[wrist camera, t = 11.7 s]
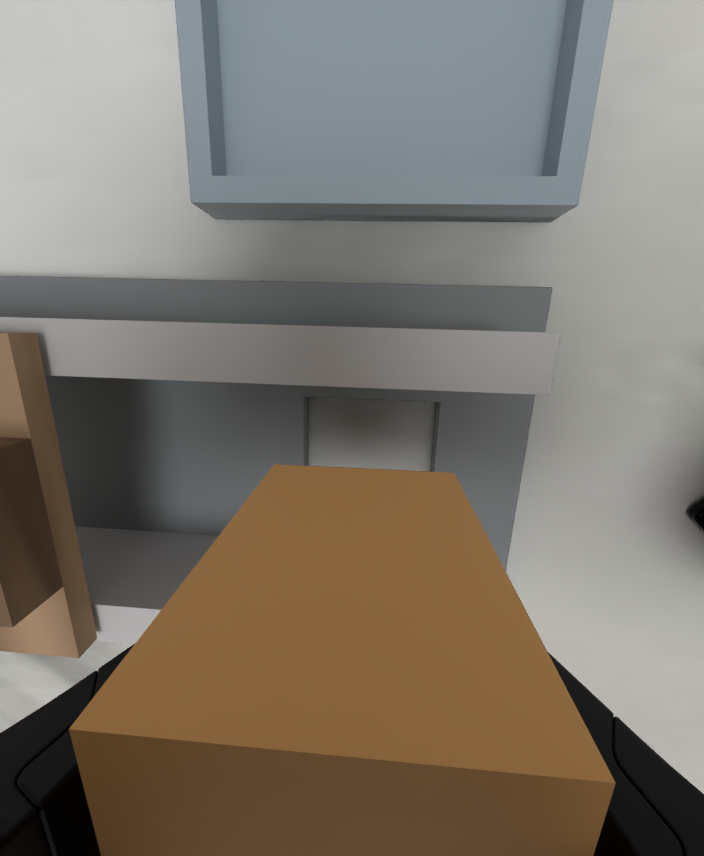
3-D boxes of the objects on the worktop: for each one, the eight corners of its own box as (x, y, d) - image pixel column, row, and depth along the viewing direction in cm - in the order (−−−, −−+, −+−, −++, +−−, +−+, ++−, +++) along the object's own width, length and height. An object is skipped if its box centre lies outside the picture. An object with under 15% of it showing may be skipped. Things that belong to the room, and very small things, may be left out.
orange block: (453, 472, 10) (615, 783, 3) (438, 622, 11) (528, 1067, 4) (274, 464, 10) (69, 729, 3) (280, 610, 12) (140, 1008, 5)
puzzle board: (541, 290, 18) (642, 266, 11) (492, 599, 22) (541, 716, 16) (-67, 277, 20) (-301, 249, 13) (8, 563, 24) (-133, 652, 18)
